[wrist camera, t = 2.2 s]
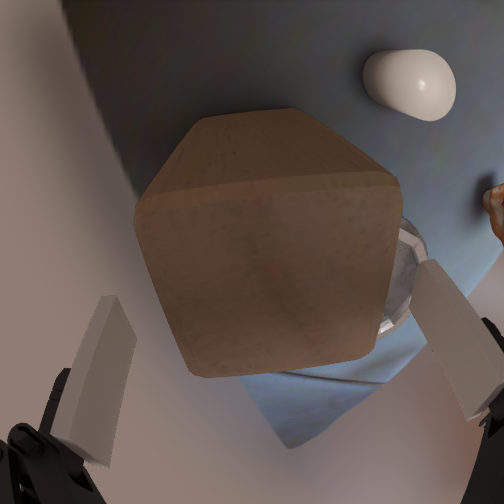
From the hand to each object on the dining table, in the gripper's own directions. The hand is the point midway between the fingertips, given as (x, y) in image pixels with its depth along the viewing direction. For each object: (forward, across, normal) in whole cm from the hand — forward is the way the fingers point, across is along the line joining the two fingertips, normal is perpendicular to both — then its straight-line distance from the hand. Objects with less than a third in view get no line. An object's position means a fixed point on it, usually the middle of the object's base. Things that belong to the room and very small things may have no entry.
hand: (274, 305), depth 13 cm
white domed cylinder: (+19, +14, +8) cm, 25 cm away
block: (+20, 0, 0) cm, 20 cm away
